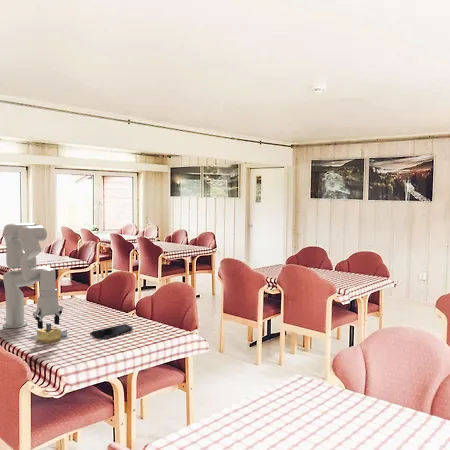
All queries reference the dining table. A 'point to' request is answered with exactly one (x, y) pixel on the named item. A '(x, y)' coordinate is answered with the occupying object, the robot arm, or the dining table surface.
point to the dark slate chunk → (111, 331)
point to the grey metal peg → (48, 327)
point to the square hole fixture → (50, 335)
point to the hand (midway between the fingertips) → (48, 326)
